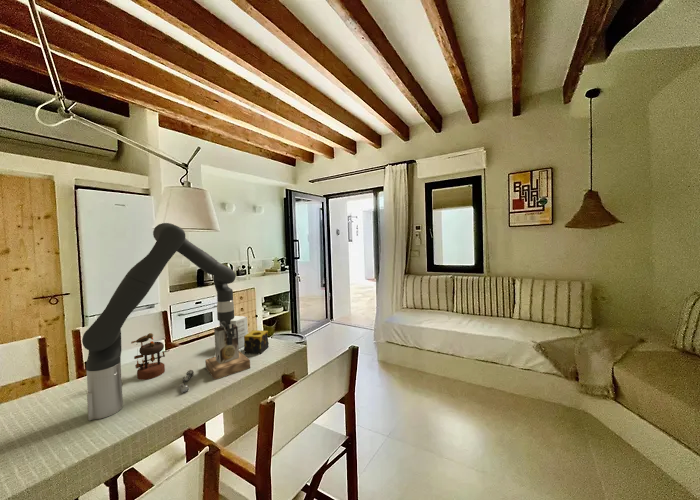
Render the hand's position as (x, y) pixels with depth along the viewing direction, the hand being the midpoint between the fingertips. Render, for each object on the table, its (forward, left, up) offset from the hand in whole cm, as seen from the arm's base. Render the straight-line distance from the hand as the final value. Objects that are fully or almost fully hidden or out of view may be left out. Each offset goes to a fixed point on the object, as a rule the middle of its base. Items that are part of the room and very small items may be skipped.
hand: (226, 342), depth 131 cm
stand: (0, 0, -13) cm, 13 cm away
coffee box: (0, 0, -9) cm, 9 cm away
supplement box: (+13, +26, -13) cm, 32 cm away
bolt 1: (-17, +1, -13) cm, 21 cm away
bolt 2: (-20, -8, -13) cm, 25 cm away
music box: (-28, +19, -13) cm, 36 cm away
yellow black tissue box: (+19, +11, -13) cm, 25 cm away
